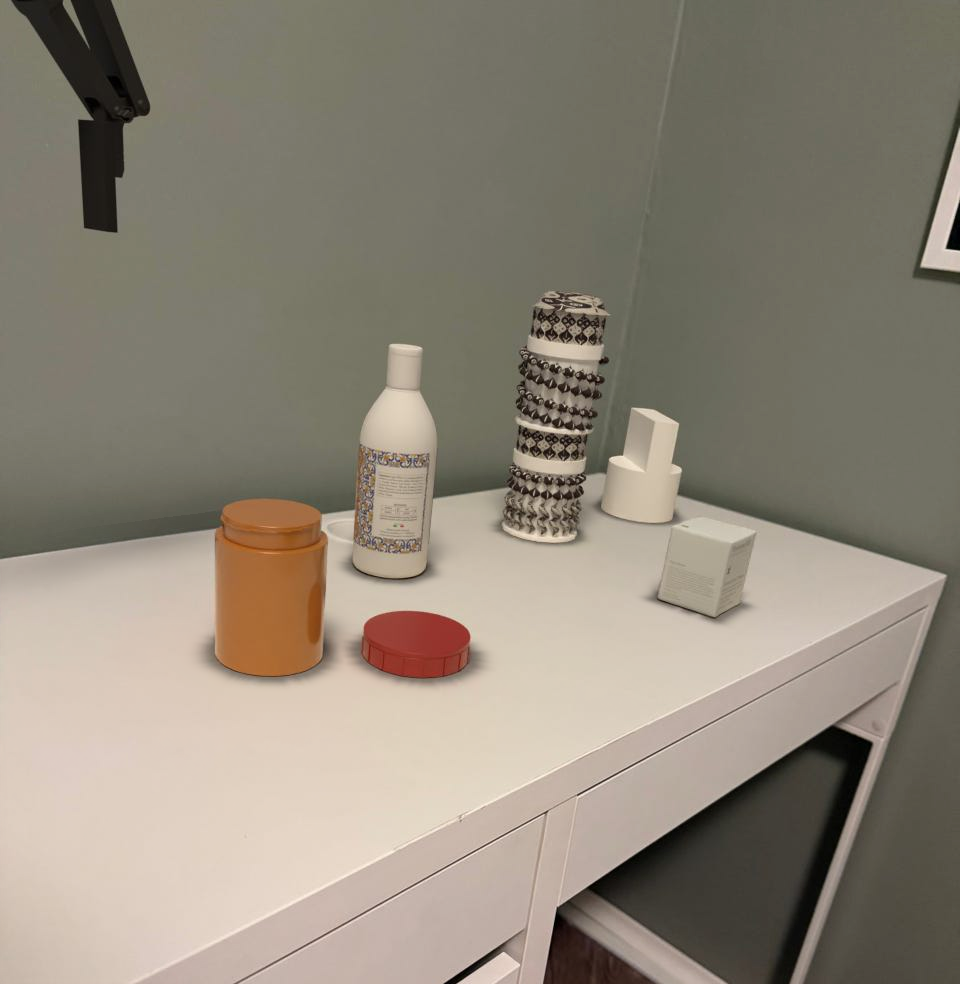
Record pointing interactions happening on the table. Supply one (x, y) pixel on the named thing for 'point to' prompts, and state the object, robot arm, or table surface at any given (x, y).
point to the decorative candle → (555, 416)
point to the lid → (415, 644)
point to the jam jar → (270, 587)
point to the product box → (706, 565)
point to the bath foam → (396, 474)
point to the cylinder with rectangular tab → (644, 470)
